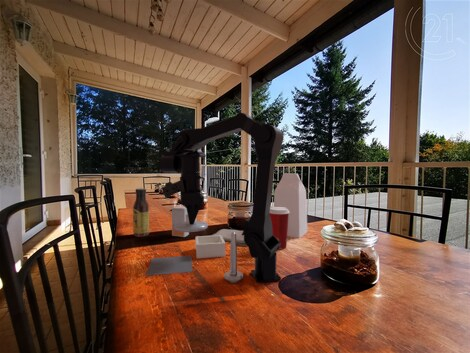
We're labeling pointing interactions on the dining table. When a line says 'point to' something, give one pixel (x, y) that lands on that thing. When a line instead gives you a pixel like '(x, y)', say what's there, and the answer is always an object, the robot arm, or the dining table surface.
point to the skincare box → (178, 220)
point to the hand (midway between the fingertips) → (191, 223)
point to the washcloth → (227, 236)
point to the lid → (190, 226)
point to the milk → (293, 203)
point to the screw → (233, 262)
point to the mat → (170, 265)
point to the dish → (210, 246)
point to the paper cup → (280, 224)
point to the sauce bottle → (141, 214)
